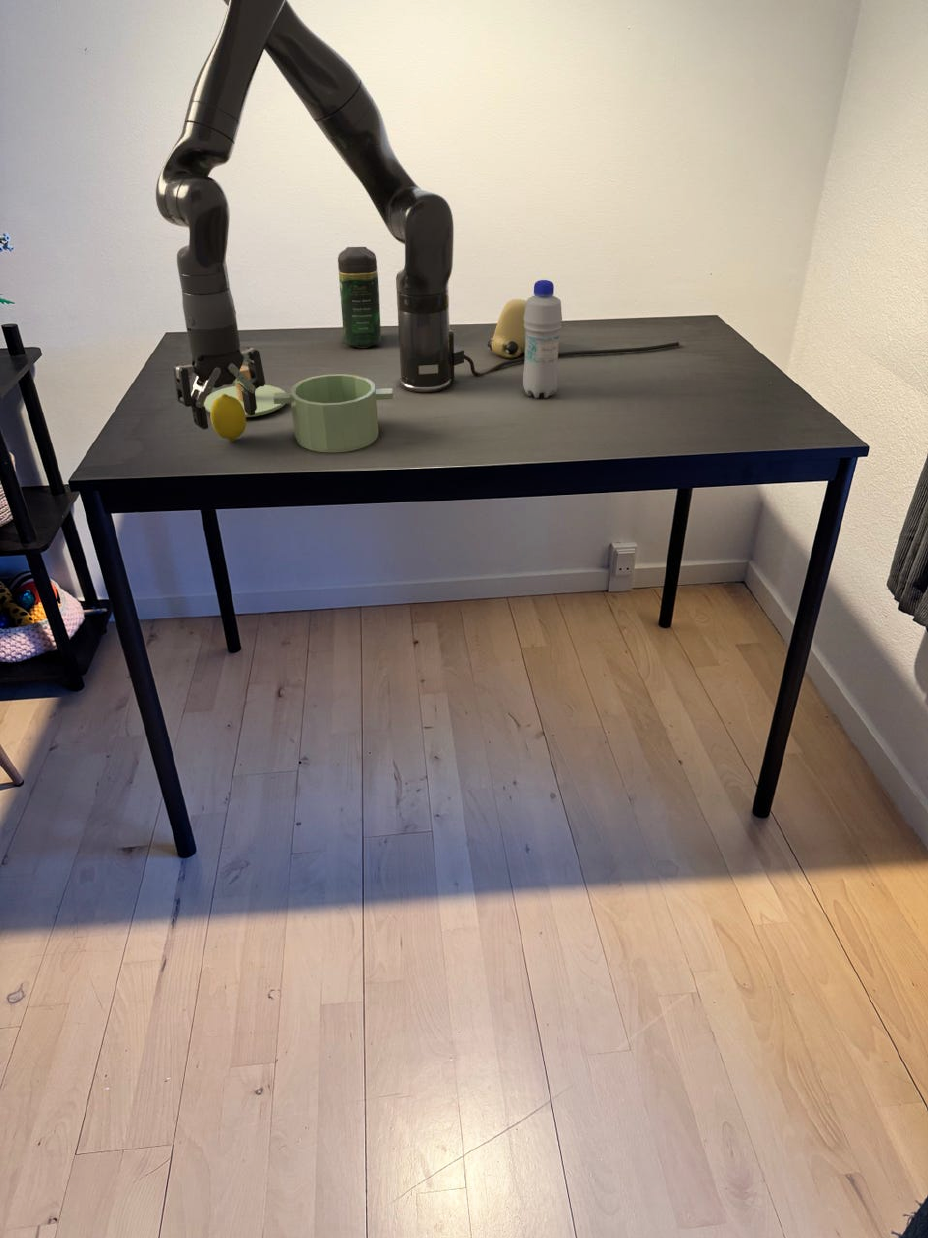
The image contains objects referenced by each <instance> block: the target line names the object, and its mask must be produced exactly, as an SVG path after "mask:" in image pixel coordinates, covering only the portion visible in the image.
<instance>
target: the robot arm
mask: <svg viewBox="0 0 928 1238" xmlns="http://www.w3.org/2000/svg"><path fill="white" fill-rule="evenodd" d="M222 1H223V2H224V3H225V5H226V6H227V10H226V13H225V16H224V19H223V22H222V25H221V27H220V30H219V32H218V35H217V37H216V39H215V40H214V43H213V45H212V46H211V49H210V51H209V53H208V55H207V57H206V59H205V61H204V63H203V65H202V67H201V68H200V71H199V73H198V75H197V77H196V80H195V83H194V85H193V88H192V91H191V95H190V98H189V101H188V102H189V103H188V105H187V110H186V113H185V118H184V121H183V126H182V130H181V133H180V136H179V137H178V139H177V141H176V142H175V144H174V146H173V147H172V148H171V149H172V150H171V151H170V153H169V155H168V157H167V158H166V161H165V163H164V165H162V169H161V170H160V173H159V175H158V178H157V181H156V187H155V202H156V203H155V204H156V207H157V210H158V212H159V215H161V217H162V218H163V219H164V220H165V221H167V222H168V223H169V224H171V225H174V226H178V227H183V228H188V230H189V231H188V232H189V239H188V240H189V241H188V245H184V246H182V247H181V248H179V250H177V253H176V266H177V272H178V278H179V283H180V289H181V298H182V299H181V301H182V302H181V303H182V311H183V316H184V323H185V329H186V333H187V341H188V344H189V350H190V353H191V359H192V360H191V363H190V364H185V365H180V364H174V366H173V367H172V368H173V369H172V370H173V376H174V384H175V391H176V399H177V402H178V403H180V404H182V405H183V406H185V407H187V408H191V412H192V416H193V418H192V419H193V423H194V424H195V425H196V426H198V427H199V428H200V429H202V431H203V430H208V429H209V423H208V422H209V421H208V417H207V410H206V409H205V407H204V402H205V400H206V397H207V396H209V395H210V394H212V391H213V388H214V389H219V388H221V387H223V386H230V385H233V384H234V383H235V381H236V382H237V383H238V384H239V385H240V386H241V387H242V388H243V389H244V390H243V391H242V396H243V403H244V410H245V412H246V413H247V414H248V415H250V416H251V415H255V411H256V410H257V403H256V396H255V391H256V389H257V388H258V387H260V386H261V387H262V386H264V385H266V380H265V374H264V369H263V364H262V359H261V353H260V351H259V350H257V349H255V348H253V347H250V346H247V347H246V348H245V349H244V350H243V351H241V349H240V348H241V342H240V335H239V329H238V328H239V327H238V322H237V311H236V309H235V308H236V307H235V302H234V297H233V294H232V291H231V287H230V286H231V285H230V278H229V271H228V265H227V260H226V259H227V251H228V244H229V242H228V241H229V231H230V218H231V217H230V216H231V214H230V213H231V212H230V211H231V210H230V204H229V200H228V197H227V195H226V192H225V190H224V188H223V186H222V185H221V184H220V183H219V182H218V181H217V180H216V179H214V178H213V177H211V176H210V174H211V172H212V170H213V169H215V168H217V167H220V166H223V165H226V164H227V163H228V162H229V161H230V159H231V158H232V155H233V152H234V148H235V143H236V140H237V136H238V133H239V130H240V125H241V123H242V119H243V118H242V117H243V113H244V110H245V108H246V107H245V106H246V103H247V100H248V96H249V93H250V89H251V88H252V84H253V80H254V77H255V76H256V75H255V74H256V72H257V69H258V66H259V63H260V61H261V59H262V56H263V53H264V51H265V52H266V54H267V55H268V56H269V58H270V59H271V60H272V62H273V64H275V66H276V68H277V69H278V70H279V72H280V73H281V75H282V76H283V78H284V79H285V80H286V82H287V83H288V85H289V86H290V87H291V89H292V90H293V92H294V93H295V94H296V96H297V97H298V99H299V100H300V101H301V103H302V105H303V106H304V108H305V109H306V111H307V112H308V114H309V115H310V117H311V118H312V120H313V121H314V122H315V124H316V125H317V127H318V128H319V130H320V131H321V133H322V134H323V135H324V136H325V139H327V141H328V142H329V143H330V144H331V146H332V148H334V150H335V151H336V153H337V154H338V155H339V157H340V158H341V159H342V160H343V162H344V163H345V165H346V166H347V167H348V169H349V170H350V171H351V172H352V174H353V175H354V176H355V177H356V178H357V180H358V181H359V183H361V185H362V186H363V188H364V189H365V191H366V193H367V194H368V196H369V198H370V200H371V202H372V203H373V205H374V207H375V209H376V210H377V212H378V214H379V216H380V218H381V219H382V222H383V223H384V225H385V227H386V228H387V231H389V233H390V234H391V236H392V237H393V238H394V239H395V240H397V242H399V243H401V244H403V245H404V266H403V269H400V270H399V271H398V272H397V274H396V277H395V287H396V305H397V323H398V324H397V325H398V327H397V328H398V345H399V346H398V347H399V366H400V367H399V368H400V379H399V381H400V386H401V387H402V388H403V389H405V390H407V391H410V392H415V393H433V392H440V391H442V390H445V389H447V388H449V387H451V384H452V383H455V366H458V365H461V364H465V360H466V361H467V363H469V367H470V372H471V373H472V375H473V376H475V377H482V376H484V375H488V374H491V373H493V372H496V371H497V370H498V369H500V368H503V367H505V366H509V365H514V364H518V363H522V362H525V356H523V357H519V358H513V359H510V360H507V361H503V362H500V363H497V364H496V365H495V366H493V367H492V368H491V369H489V370H487V371H486V372H478V371H476V369H475V364H474V363H475V362H474V361H473V359H472V358H471V357H469V356H468V355H466V354H465V350H464V349H462V348H459V347H456V346H455V333H454V331H453V330H451V329H450V287H449V284H450V279H451V276H452V272H453V269H454V245H455V244H454V243H455V242H454V241H455V223H454V216H453V215H454V214H453V211H452V208H451V206H450V203H449V202H448V201H447V199H445V198H444V197H443V196H441V194H439V193H435V192H433V191H429V190H426V189H423V188H421V187H420V186H419V185H418V184H417V183H416V181H414V180H413V178H412V177H411V176H410V175H409V173H408V172H407V171H406V169H405V168H404V166H403V164H401V162H400V161H399V159H398V157H397V155H396V154H395V152H394V149H393V147H392V145H391V141H390V139H389V135H388V131H387V127H386V124H385V121H384V118H383V115H382V113H381V110H380V108H379V106H378V105H377V102H376V101H375V99H374V97H373V96H372V94H371V93H370V91H369V90H368V88H367V87H366V85H365V83H364V81H362V78H361V77H360V76H359V74H358V73H357V72H356V70H355V69H354V68H353V67H352V65H351V64H350V63H349V62H348V61H347V60H346V59H345V58H344V57H343V56H342V55H341V54H340V53H338V52H337V50H336V49H334V48H333V47H332V46H330V45H329V43H326V42H325V40H323V39H322V38H321V37H320V36H318V35H317V34H316V33H315V32H314V31H312V29H310V27H308V26H307V24H305V23H304V21H303V20H302V19H301V18H300V17H299V15H298V14H297V12H296V11H295V10H294V8H293V7H292V5H291V4H290V2H289V0H222ZM678 346H680V342H679V341H675V342H669V343H663V344H658V345H651V346H643V347H631V348H629V347H628V348H627V347H626V348H612V349H593V350H591V349H589V350H575V351H573V350H572V351H561V352H558V357H567V356H569V357H570V356H583V355H584V356H585V355H604V354H605V355H607V354H621V353H636V352H647V351H656V350H661V349H666V348H668V349H669V348H674V347H678ZM244 362H245V363H246V364H247V367H248V368H249V373H250V378H251V379H250V380H249V379H248V378H247V377H246V376H245V375H244V374H243V373H242V372H241V371H240V368H241V366H243V364H244ZM193 374H195V375H196V377H195V380H194V382H193V384H192V388H193V389H192V391H191V383H190V381H191V380H192V378H193V377H192V376H193Z"/></svg>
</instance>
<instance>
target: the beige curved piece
mask: <svg viewBox="0 0 928 1238" xmlns="http://www.w3.org/2000/svg"><path fill="white" fill-rule="evenodd" d="M526 301H527V299H523V298H512V299H510V300H508V301H507V302H506V303H505V304H504V306H503V308H502V310H501V313H500V315H499V317H498V320H497V323H496V326H495V329H494V333H493V337H492V338H490V339H489V340H488V342H487V348H488V350H490V351H491V352H492V353H493V354H495V355H496V356H499V357H502V358H505V359H516V358H517V357H519V356H520V355H521V354H525V332H526V330H525V328H524V314H525V307H526Z"/></svg>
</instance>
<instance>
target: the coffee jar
mask: <svg viewBox="0 0 928 1238" xmlns="http://www.w3.org/2000/svg"><path fill="white" fill-rule="evenodd" d="M337 264H338V265H337V267H338V279H339V293H340V294H339V295H340V306H341V319H342V331H343V332H342V333H343V341H344V344H345V345H346V346H347V347H354V348H358V349H368V348H369V347H374V346H378V345H380V343H381V339H382V333H381V331H382V330H381V314H380V313H381V311H380V285H379V275H378V274H379V272H378V260H377V256H376V253H375V252H374V251H373V250H371V249H369V248H368V247H367V246H347V247H346V248H345V249H343V250H342V251H340V253H339V254H338V256H337Z"/></svg>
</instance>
